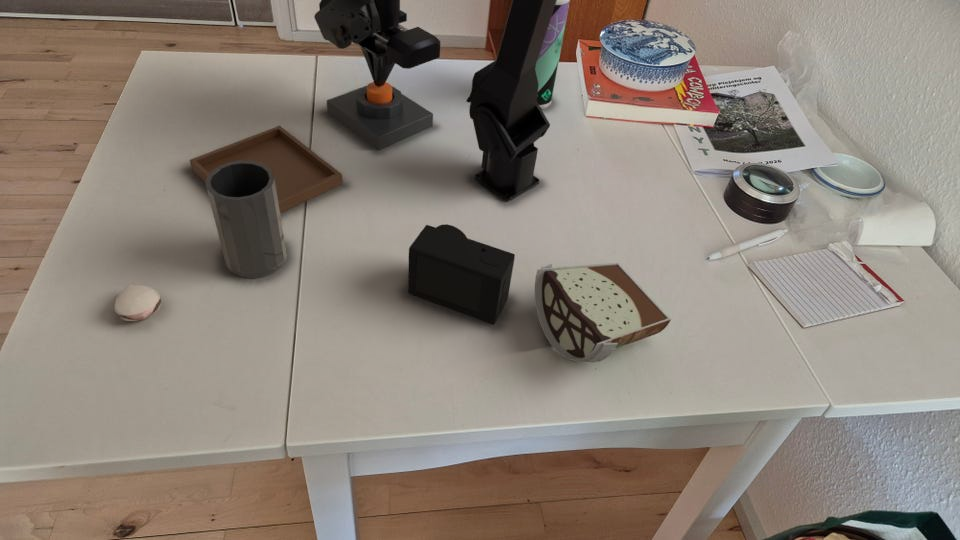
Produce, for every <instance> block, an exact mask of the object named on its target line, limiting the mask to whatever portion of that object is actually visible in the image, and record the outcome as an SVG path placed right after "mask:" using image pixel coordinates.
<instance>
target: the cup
mask: <svg viewBox="0 0 960 540" xmlns="http://www.w3.org/2000/svg"><path fill="white" fill-rule="evenodd" d="M205 187H206V191H207V195H208V199H209V202H210V208H211V211H212V216H213V219H214V223H215V227H216V231H217V235H218V239H219V243H220V247H221V250H222V251H221V252H222V254H223V259H224V262H225V265H226V267H227V269H228V271H230V272H231V273H232V274H234V275H236V276H237V277H239V278H240V277H241V278H244V279H260V278H264V277H267V276H270V275H272V274H274V273H275V272H277V271H279V270H280V269H281V268H282V267H283V266H284V264H285V262H286V260H287V248H286V241H285V234H284V229H283V222H282V216H281V213H280V209H279V203H278V197H277V191H276V184H275V178H274V175H273V172H272V170H270V169H269V168H268V167H267V166H266V165H264V164H261V163H258V162H255V161H235V162H229V163H227V164H224V165H222V166H219V167H217V168H216V169H215V170H213V171H212V172H211V173H210V174H209V175H208V177H207V179H206V183H205Z"/></svg>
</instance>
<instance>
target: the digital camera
mask: <svg viewBox="0 0 960 540" xmlns="http://www.w3.org/2000/svg"><path fill="white" fill-rule="evenodd" d="M515 256H516V254H515V253H513V252H511V251H507V250H503V249H501V248H498V247H495V246H491V245H489V244H486V243H483V242H479V241H477V240H474V239H471V238H468V236H467V235H466V234H465V233H464V231H462V230H461V229H459V228H458V227H456V226H454V225H451V224H448V223H447V224H445V223H444V224H440V225H437V226H436V227H435V226H432V225H429V224H426V225H424V227H423V228H422V229H421V231H420V233H419V234H418V235H417V236H416V238H414V241H413V242H412V243H411V245H409V248H408V274H407V275H408V277H407V278H408V283H407V285H408V286H407V287H408V288H407V290H408V291H407V292H408V294H409V295H411V296H415V297H417V298H420V299H423V300H426V301H428V302H431V303H434V304H437V305H439V306H442V307H445V308H448V309H450V310H453V311H456V312H458V313H462V314H463V315H467V316H470V317H473V318H476V319H478V320H481V321H484V322H487V323H490V324H492V325H495V324H496V322H497V320H498V318H499V317H500V315H501V313H502V311H503V309H504V307H505V305H506V304H507V301H508V298H509V293H510V287H511V282H512V275H513V269H514V263H515V259H516V257H515Z"/></svg>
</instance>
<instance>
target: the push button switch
mask: <svg viewBox="0 0 960 540" xmlns="http://www.w3.org/2000/svg"><path fill="white" fill-rule="evenodd" d="M366 87H367V85H364V86H361V87H359V88H356V89H353V90H351V91H348V92H346V93H343V94H340V95H337V96H335V97H332V98H330V99H327V100H326V109H327V111H326V112H327V114H328V115H329V116H331V117H332V118H333V119H335V120H336V121H337V122H339V123H340V124H341V125H343V126H344V127H346V128H347V129H348V130H349V131H351V132H352V133H354V134H355V135H357V136H358V137H359V138H361V139H362V140H364V141H365V142H366V143H368V144H369V145H371V146H372V147H373V148H374V149H376V150H377V151H381V150H384V149H385V148H388V147H390V146H392V145H393V146H394V144H397V143H399V142H401V141H404V140H406V139H408V138H410V137H412V136H415V135H417V134H419V133H421V132H423V131H426V130H429V129H431V128H433V124H434V113H432V112H431V111H429V110H428V109H426V108H425V107H424V106H421V105H420V104H418V102H416V101H414V100H413V99H410V98H409V97H408V96H406V95H405V94H403V93H402V91H400V90H399V89H398V88H396V87H394V86H392V101H390V102H388V103H383V104H377V103H372V102H369V101H368V100H367V89H366Z"/></svg>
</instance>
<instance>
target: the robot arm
mask: <svg viewBox="0 0 960 540" xmlns="http://www.w3.org/2000/svg"><path fill="white" fill-rule="evenodd" d="M556 1H557V0H511V3H510V7H509V11H508V15H507V19H506V22H505V26H504V28H503V29H504V30H503V33H502V37H501V40H500V45H499V48H498V52H497V55H496V58H495V60H494V61H492V62H490V63H488V64H487V65H485V66H483V67H482V68H481V69H479V70H478V71H475V72H474V74H473V76H472V81H471V90H470V93H469V96H468V97H467V98H466V100H465V101H466V103H470V105H469V107H468V109H469V110H468V112H469V113H468V114H469V118H470V119H471V120H472V123H473V127H474V133H475V138H476V142H477V146H478V150H479V151H481V152H482V157H481V169H482V170H481V171H479V172H477V173H475V174H474V177H473V178H474V179H473V180H475V181H476V182H477V183H479V184H481V185H482V186H484V187H486V188H487V189H488V190H489V191H491V192H493V193H494V194H496V195H497V196H499V198H501V199H503V200H504V201H506V202H510V201H512V200H513V199H515V198H517V197H519V196H520V195H523V194H524V193H525V192H528V191H529V190H531V189H533V188H534V187H536V186H537V185H539V184H540V179H539V178H538V177H537V176H535V175H534V174H535V169H536V162H537V158H538V152H539V148H538V147H537V146H535V143H536V142H537V141H538V140H539V139H540V138H542V137H544V136H545V135H546V133H547V131H548V130H549V128H550V126H551V123H550V122H549V120H548V118H547V116H546V115H545V113H544V112H543V110H542V109H541V108H540V106H539V104H538V103H537V101H536V100H537V93H538V86H539V84H538V79H537V75H536V70H535V67H536V63H537V60H538V56H539V53H540V50H541V47H542V44H543V41H544V38H545V35H546V32H547V29H548V26H549V22H550V19H551V16H552V13H553V10H554V7H555V4H556ZM318 6H319V7H318V8H319V10H318V11H316V12H315V14H314V17H313V18H314V21H315V22H316V25H317V27H318V29H319V31H320V33H321V36H322V38H323V39H324V40H325V41H328V42H330V43H332V44H333V45H334V46H335V47H336V48H338V49H340V50H341V49H342V50H343V49H346V48H348V47H350V46H351V45H352V43H353V44H355V45H357V46H358V47H359V48H360V51H361V53H362V54H363V57H364V59H365V62H366V64H367V67H368V70H369V72H370V76H371V78H372V82H374V84H375V85H376V86H378V87H381V86H383V85H384V84H385V82H386V83H387V80H388V79H389V77H390V75H391V73H392V70H393V69H394V67H395V65H397V66H399V67H400V68H402V69H407V70H409V69H412V68H416V67H418V66H421V65H424V64H426V63H429V62H432V61H435V60H437V59H440V58H441V40H440V39H438V37H437V36H436V35H434V34H433V33H430V32H429V31H427V30H425V29H423V28H422V27H420V26H416V27H413V28H410V29H409V28H407V27H406V26H403V25H402V23H405V22H407V21H408V14H407V13H406V12H405V11H403V10H401V0H320V2H319V4H318Z"/></svg>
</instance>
